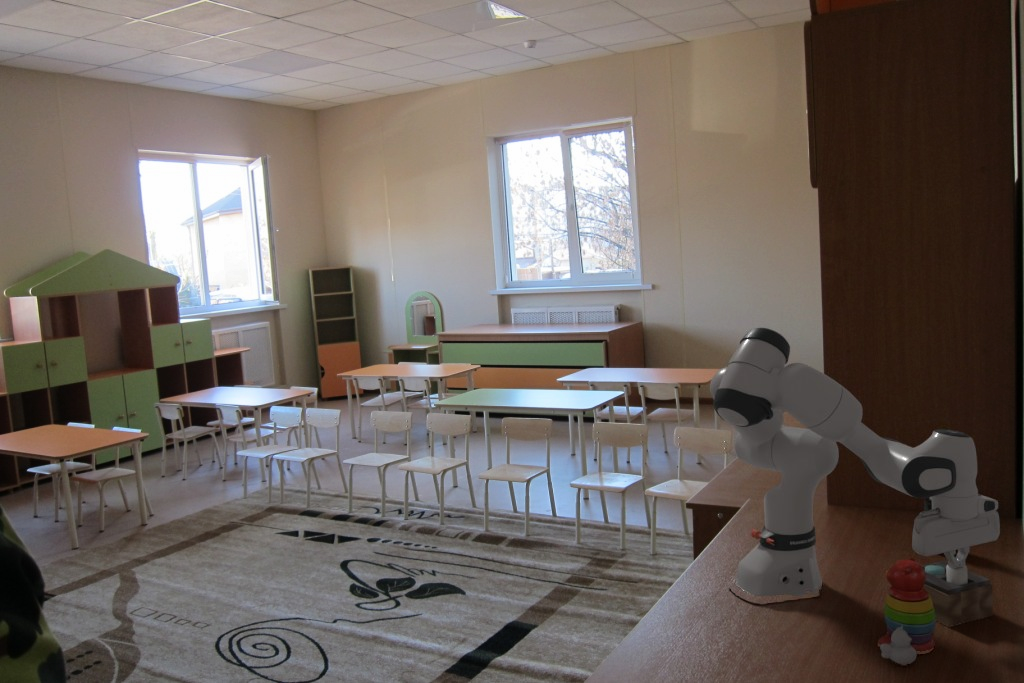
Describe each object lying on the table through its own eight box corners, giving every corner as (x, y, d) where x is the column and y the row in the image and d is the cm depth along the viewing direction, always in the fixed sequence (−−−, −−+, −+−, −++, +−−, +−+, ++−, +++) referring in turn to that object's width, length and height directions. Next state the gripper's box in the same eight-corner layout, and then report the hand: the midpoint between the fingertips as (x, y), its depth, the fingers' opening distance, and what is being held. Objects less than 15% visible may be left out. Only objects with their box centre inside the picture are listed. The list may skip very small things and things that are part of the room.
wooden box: (948, 627, 180) (947, 591, 179) (902, 604, 192) (901, 570, 191) (993, 615, 183) (992, 579, 182) (945, 593, 195) (944, 559, 194)
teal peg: (935, 608, 188) (934, 573, 187) (921, 601, 192) (920, 567, 191) (950, 604, 189) (949, 569, 188) (936, 597, 193) (935, 563, 192)
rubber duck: (920, 670, 164) (919, 630, 163) (884, 670, 165) (882, 630, 164) (912, 656, 169) (911, 618, 168) (877, 656, 171) (875, 618, 170)
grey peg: (957, 608, 182) (956, 572, 181) (942, 601, 186) (941, 565, 185) (972, 604, 183) (971, 568, 182) (957, 597, 187) (956, 562, 186)
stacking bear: (890, 628, 181) (887, 547, 179) (942, 639, 175) (939, 555, 173) (874, 649, 173) (871, 565, 171) (928, 662, 167) (925, 574, 165)
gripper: (926, 517, 176) (928, 582, 177) (1004, 500, 181) (1006, 562, 183) (903, 509, 182) (906, 571, 183) (980, 492, 187) (982, 553, 189)
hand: (956, 567), depth 183 cm, fingers closed, pressing on grey peg
